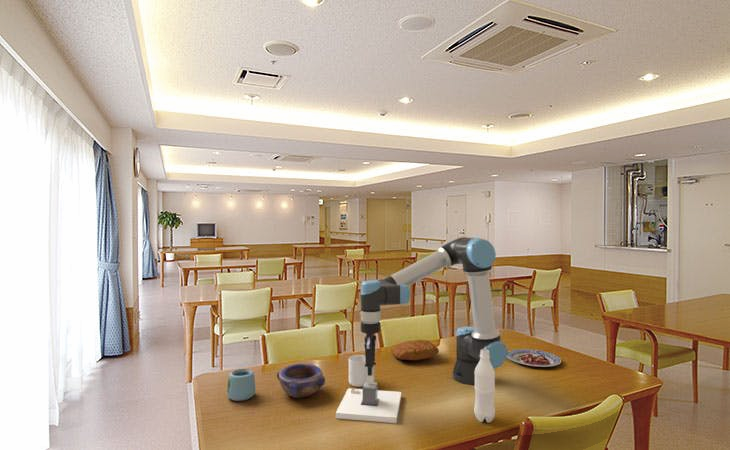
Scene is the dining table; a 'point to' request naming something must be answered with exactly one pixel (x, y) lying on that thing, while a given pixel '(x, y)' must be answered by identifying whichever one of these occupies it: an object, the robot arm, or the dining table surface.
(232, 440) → the dining table surface
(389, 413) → the socket plate
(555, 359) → the ceramic plate
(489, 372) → the water bottle
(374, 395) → the plug
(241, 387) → the mug
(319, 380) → the bowl
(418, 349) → the bread loaf
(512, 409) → the dining table surface
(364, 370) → the mug
